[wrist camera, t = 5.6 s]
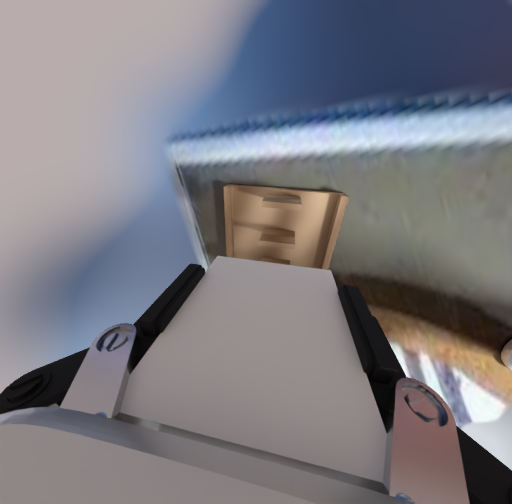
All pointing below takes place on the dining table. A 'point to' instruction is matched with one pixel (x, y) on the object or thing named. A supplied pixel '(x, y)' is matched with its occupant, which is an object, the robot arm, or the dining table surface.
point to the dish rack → (282, 224)
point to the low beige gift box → (264, 373)
